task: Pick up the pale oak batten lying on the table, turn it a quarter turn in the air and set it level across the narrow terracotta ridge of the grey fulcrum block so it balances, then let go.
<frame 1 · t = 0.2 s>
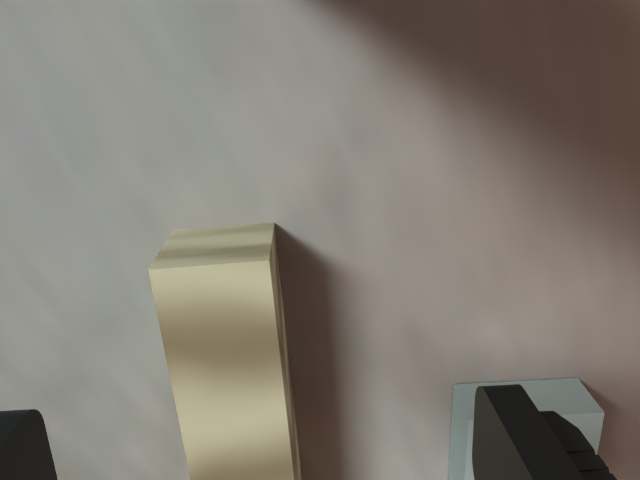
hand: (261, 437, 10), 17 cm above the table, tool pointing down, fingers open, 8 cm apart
batten: (250, 405, 32), on the table
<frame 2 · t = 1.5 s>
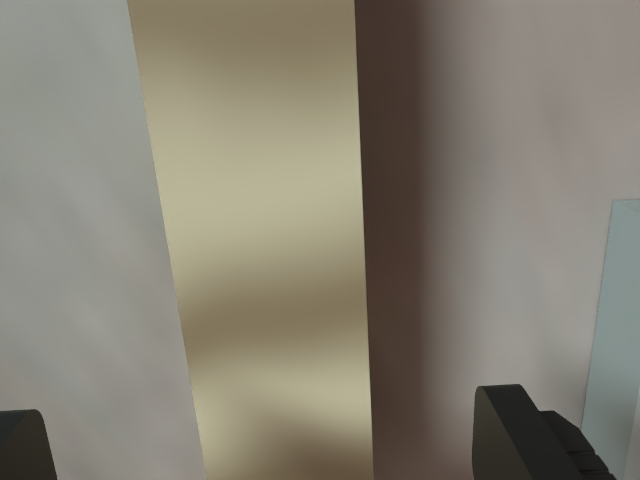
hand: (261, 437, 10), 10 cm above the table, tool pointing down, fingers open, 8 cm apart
batten: (279, 240, 19), on the table
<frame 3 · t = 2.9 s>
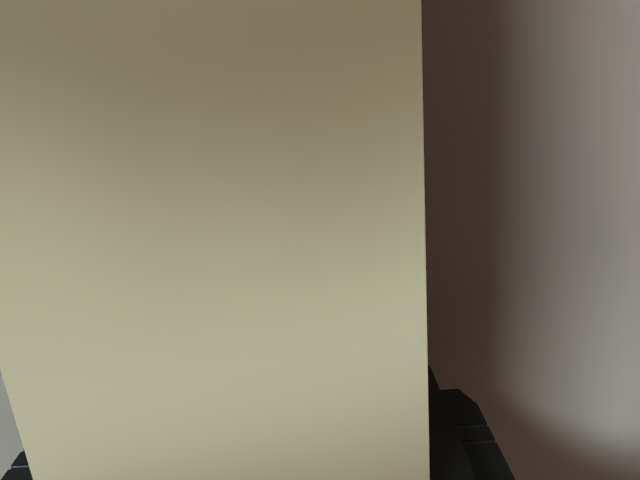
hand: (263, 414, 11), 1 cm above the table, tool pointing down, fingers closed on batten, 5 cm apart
batten: (269, 371, 12), on the table, touching gripper
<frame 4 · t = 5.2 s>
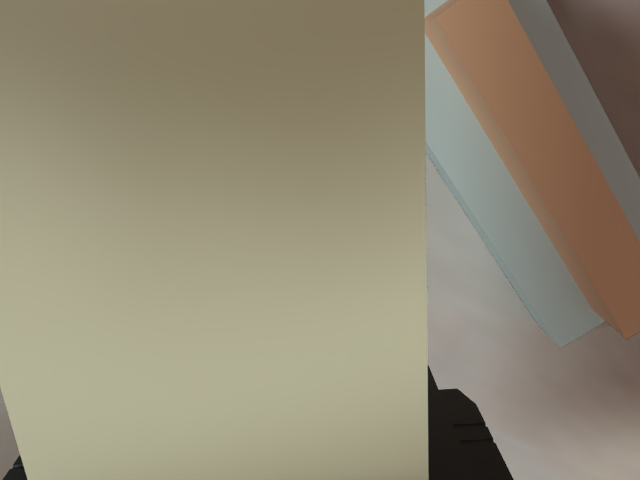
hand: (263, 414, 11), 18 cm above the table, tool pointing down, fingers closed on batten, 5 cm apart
fulcrum: (511, 151, 27), on the table
batten: (267, 373, 12), point 16 cm above the table, touching gripper
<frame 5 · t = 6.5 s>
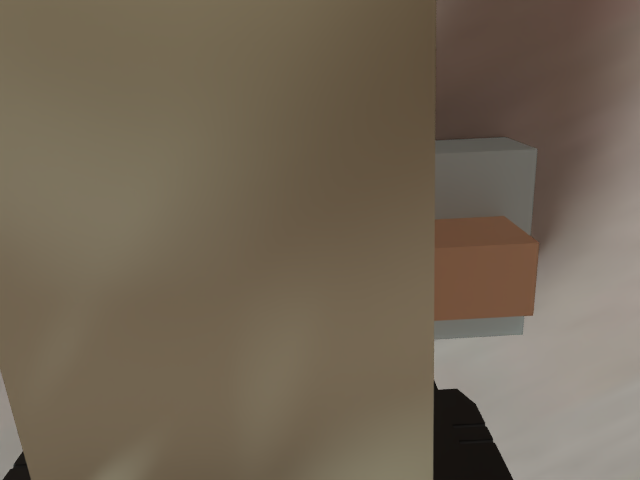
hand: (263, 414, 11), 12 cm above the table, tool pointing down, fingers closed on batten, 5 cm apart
fulcrum: (280, 234, 23), on the table
batten: (269, 375, 12), point 11 cm above the table, touching gripper
when the fingers open (8 cm above the table, at t = 7.6 s): batten stays where it is, resting on fulcrum.
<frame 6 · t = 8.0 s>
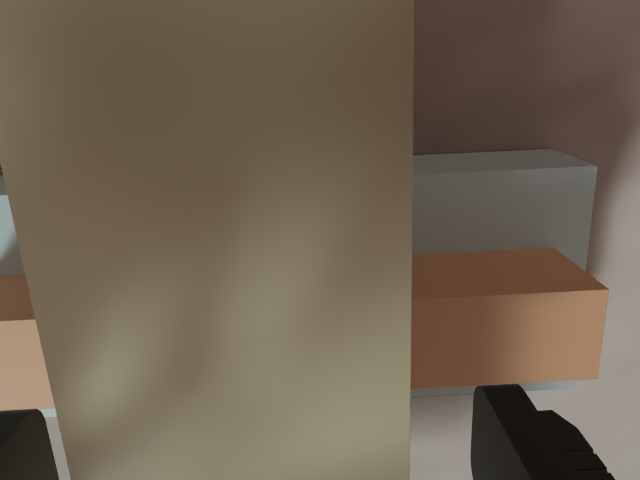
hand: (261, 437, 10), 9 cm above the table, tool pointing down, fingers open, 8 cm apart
fulcrum: (280, 264, 19), on the table
batten: (266, 352, 13), point 6 cm above the table, touching fulcrum
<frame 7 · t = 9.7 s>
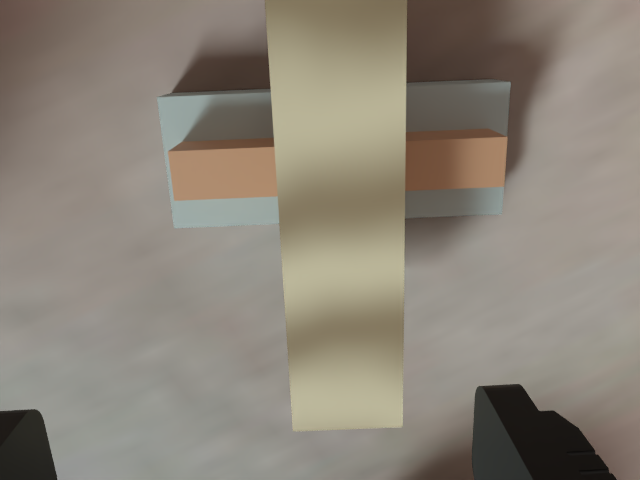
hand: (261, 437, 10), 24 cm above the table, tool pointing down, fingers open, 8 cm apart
fulcrum: (333, 148, 32), on the table
batten: (336, 169, 27), point 6 cm above the table, touching fulcrum
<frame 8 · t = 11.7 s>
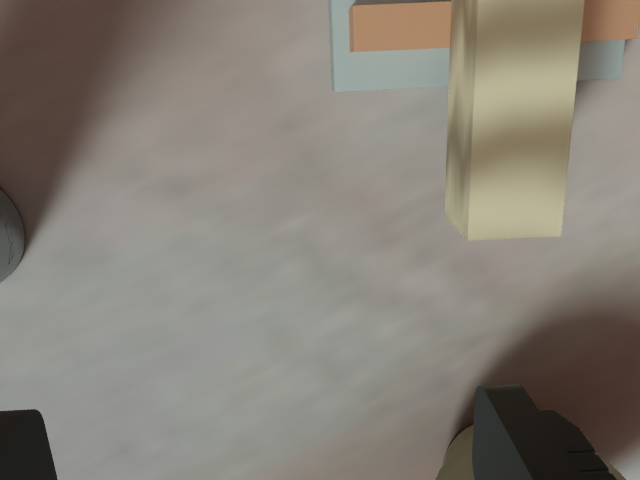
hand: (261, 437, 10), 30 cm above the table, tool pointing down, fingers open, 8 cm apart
planter bowl: (496, 460, 48), on the table
fulcrum: (466, 27, 37), on the table
batten: (495, 22, 31), point 6 cm above the table, touching fulcrum
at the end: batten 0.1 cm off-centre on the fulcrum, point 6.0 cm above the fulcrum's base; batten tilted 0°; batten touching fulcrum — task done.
